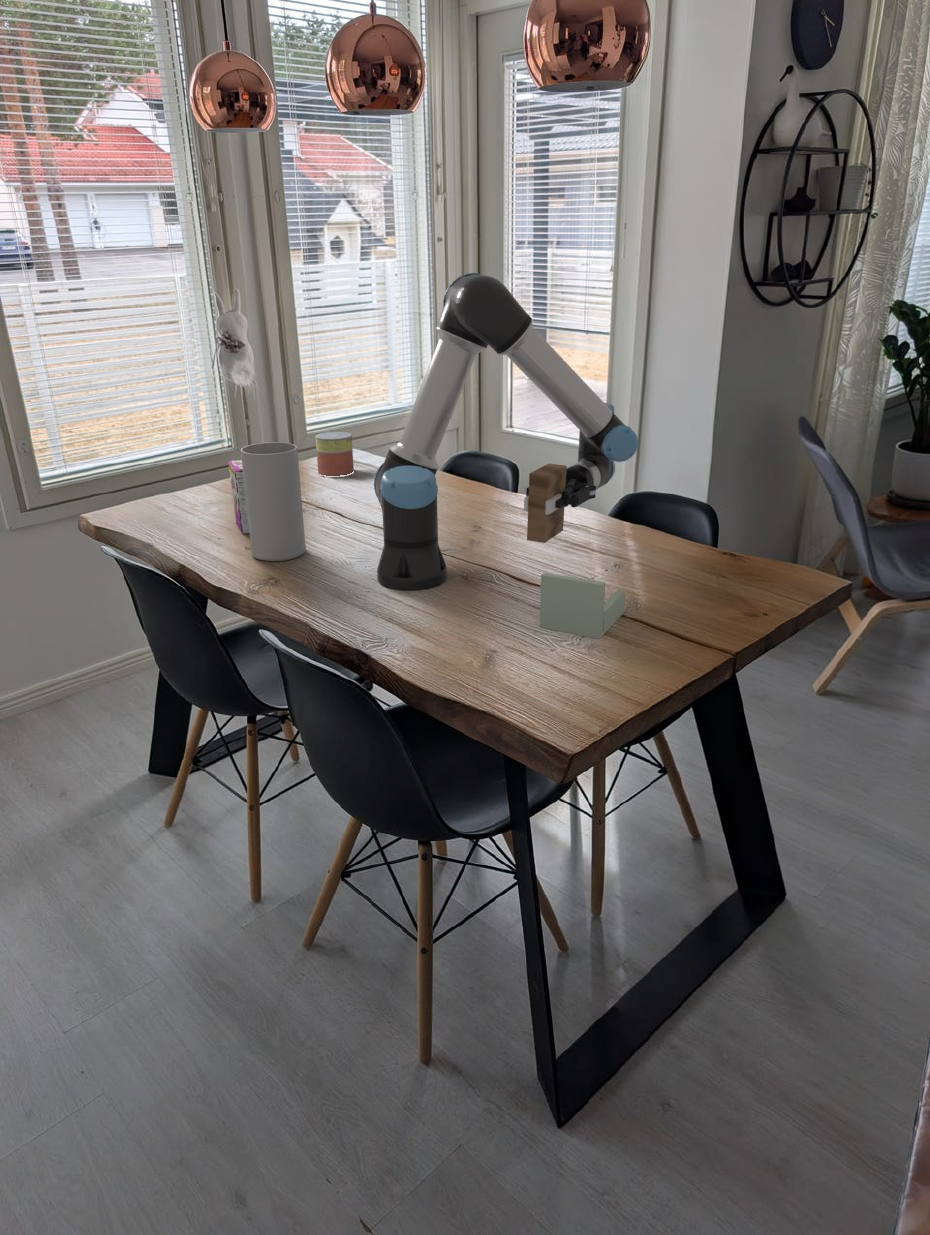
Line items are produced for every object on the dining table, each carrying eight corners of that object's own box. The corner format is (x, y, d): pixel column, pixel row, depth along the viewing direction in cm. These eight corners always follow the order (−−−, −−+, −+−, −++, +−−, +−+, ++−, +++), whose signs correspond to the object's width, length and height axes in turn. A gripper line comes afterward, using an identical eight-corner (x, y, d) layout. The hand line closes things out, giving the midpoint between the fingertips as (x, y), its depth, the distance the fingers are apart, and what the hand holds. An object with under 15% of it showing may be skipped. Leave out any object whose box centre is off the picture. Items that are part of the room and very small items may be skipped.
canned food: (360, 474, 282) (357, 436, 277) (326, 479, 277) (323, 440, 272) (345, 467, 291) (343, 430, 286) (312, 472, 286) (309, 434, 281)
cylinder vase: (241, 553, 214) (229, 448, 204) (286, 541, 222) (276, 439, 212) (271, 566, 205) (260, 457, 196) (316, 553, 213) (308, 447, 204)
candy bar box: (234, 522, 237) (227, 460, 230) (253, 520, 238) (247, 459, 232) (241, 535, 227) (234, 470, 221) (261, 532, 229) (254, 468, 222)
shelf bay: (599, 638, 167) (602, 585, 163) (539, 627, 172) (540, 575, 168) (627, 609, 180) (630, 558, 176) (570, 599, 185) (572, 549, 181)
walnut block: (544, 543, 185) (547, 475, 180) (526, 540, 187) (529, 473, 181) (563, 530, 193) (566, 465, 188) (545, 527, 195) (548, 463, 189)
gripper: (613, 502, 200) (575, 530, 180) (542, 492, 207) (497, 518, 188) (616, 469, 197) (577, 493, 178) (543, 460, 204) (498, 482, 185)
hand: (536, 506), depth 183 cm, fingers closed on walnut block, 4 cm apart
